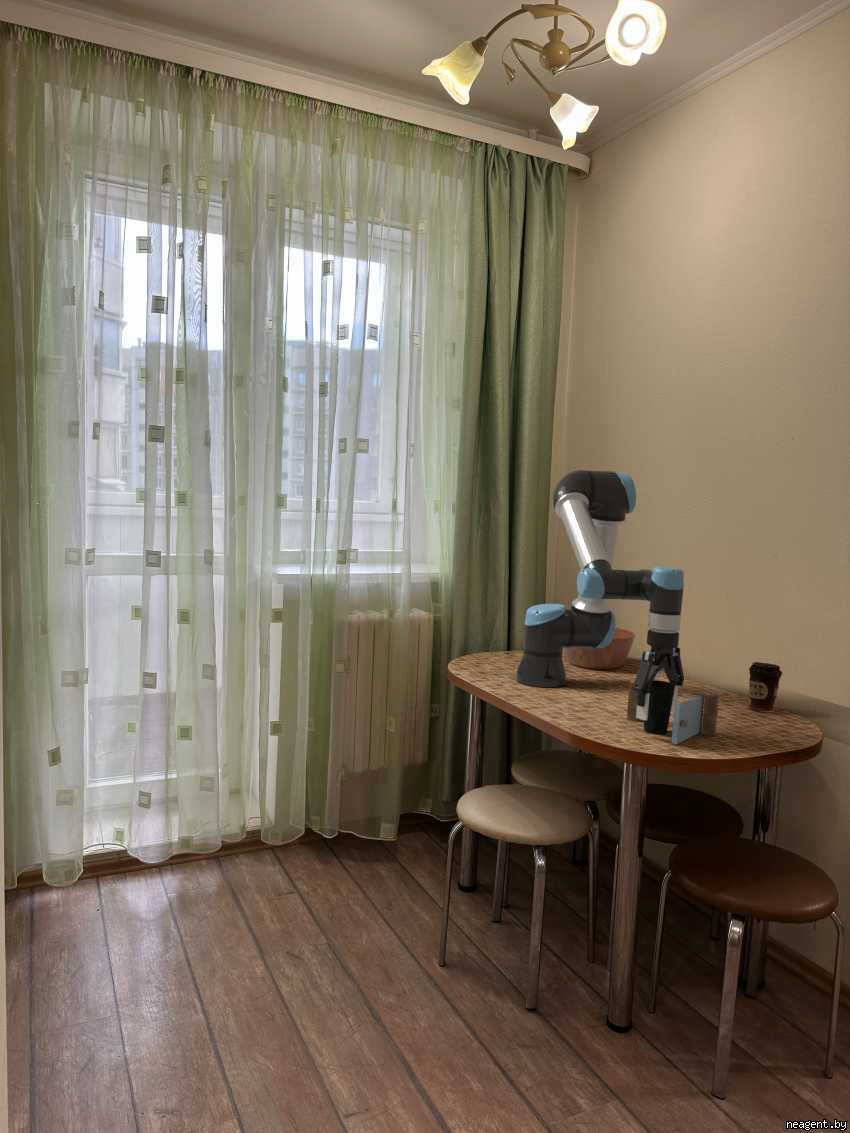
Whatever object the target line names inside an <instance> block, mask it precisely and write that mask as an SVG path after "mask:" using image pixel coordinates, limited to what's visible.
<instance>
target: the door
mask: <svg viewBox="0 0 850 1133" xmlns="http://www.w3.org/2000/svg"><path fill="white" fill-rule="evenodd" d="M705 694H706V693H705V692H701V691H700V692H698V696H695V697H693V698H691V699H688V700H686V701H683V702H681V703H679V704H677V705H676V706H675V709H674V711H673V723H672V732H671V733H672V734H671V744H673V745H678V744H680V743H682V742H683V741H686V740H688V739H690V738H692V737H694V736H696V735H698V734H701V733H702V722H703V711H704V700H705Z"/></svg>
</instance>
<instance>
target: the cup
mask: <svg viewBox="0 0 850 1133" xmlns="http://www.w3.org/2000/svg"><path fill="white" fill-rule="evenodd" d="M674 691H675V685H674V684H672V683H669V681H664V680H655V679H654V680H653V682H652V684H651V686H650V688H649V690H648V692H647V693H649V694H650V695H649V707H648V719H647V720H643V732H646V733H648V734H652V735H666V734H667V733H668V728H669V723H670V717H671V712H672V711H671V707H672V702H673V696H674Z"/></svg>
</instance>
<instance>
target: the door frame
mask: <svg viewBox="0 0 850 1133" xmlns="http://www.w3.org/2000/svg"><path fill="white" fill-rule="evenodd" d="M634 682H635V680H633V679H632V680H630V681H629V686H628V700H627V711H626V720H627V721H632V722H633V721H634V722H639V721H640V720H641V719H639V718H636V712H637V700H638V692H636V691H634V690H633V685H634ZM719 701H720V695H719V694H714V693H708V692H707V693H705V696H704V707H703V719H702V730H701V733H700V734H701V735H705V736H710V737H715V736H716V734H717V725H718V724H717V722H718V713H719V703H720V702H719Z"/></svg>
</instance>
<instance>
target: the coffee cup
mask: <svg viewBox="0 0 850 1133" xmlns="http://www.w3.org/2000/svg"><path fill="white" fill-rule="evenodd" d="M748 671H749V672H748V673H749V680H748V681H749V683H748V684H749V686H748V688H749V691H748V692H749V696H748V697H749V699H750V703H749V706H748V708H750V709H751V710H754V711H757V712H760V713H774V712H775V711H774V705H775V701H776V699H777V696H778V692H779V688H780V687H779V686H780V685H779V684H780V679H781V677H782V675H783V671H782V670H781V667H780V666H779V665H777V664H775V663H768V662H760V661H759V662H758V661H754V662H752V664H751V665H750V667H749V668H748Z"/></svg>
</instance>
